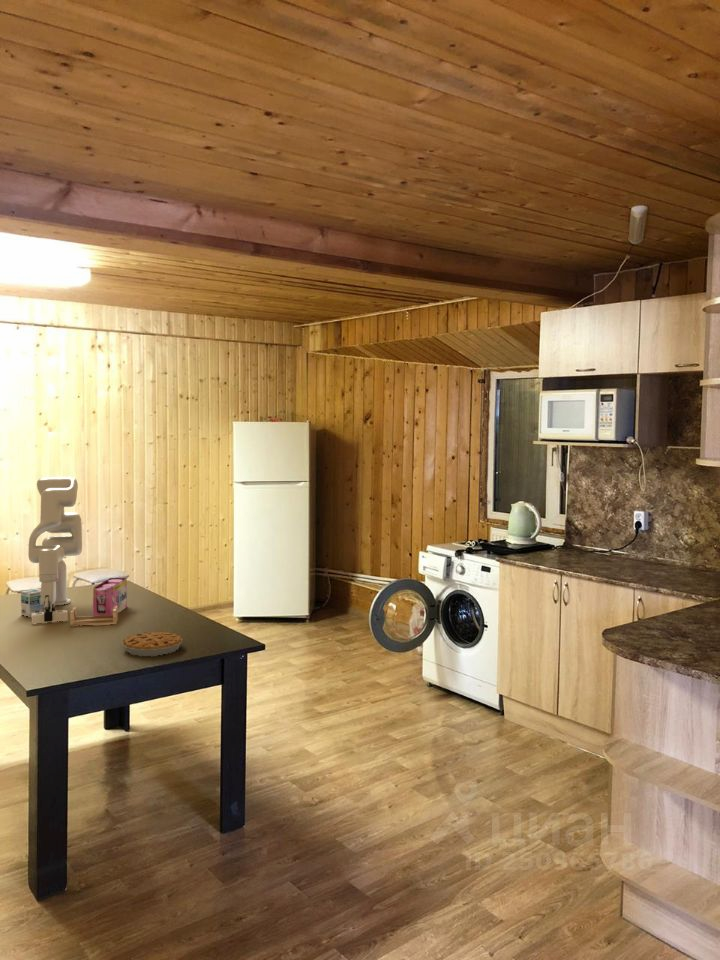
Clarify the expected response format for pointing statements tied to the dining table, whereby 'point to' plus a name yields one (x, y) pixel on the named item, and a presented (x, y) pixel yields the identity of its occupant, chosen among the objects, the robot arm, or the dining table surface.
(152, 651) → the pie
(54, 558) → the robot arm
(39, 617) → the power strip
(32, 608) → the light bulb box
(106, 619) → the cradle
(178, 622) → the dining table surface
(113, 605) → the gum box
